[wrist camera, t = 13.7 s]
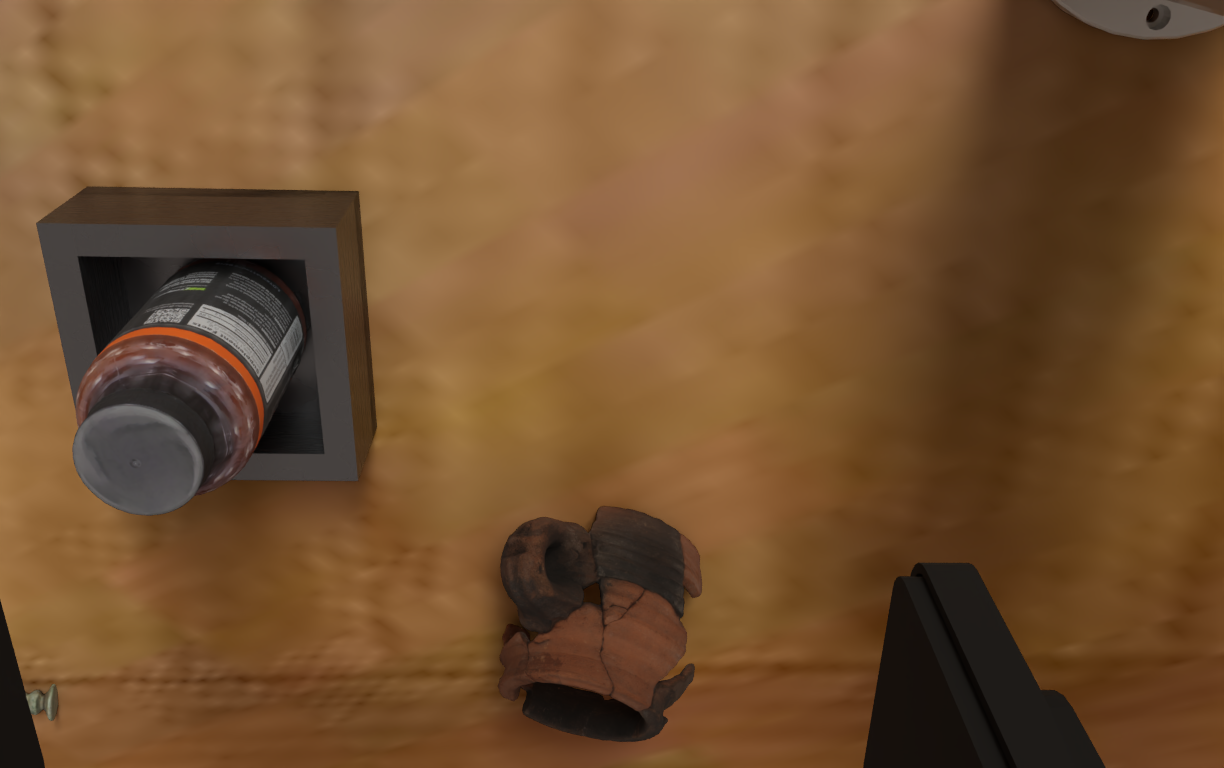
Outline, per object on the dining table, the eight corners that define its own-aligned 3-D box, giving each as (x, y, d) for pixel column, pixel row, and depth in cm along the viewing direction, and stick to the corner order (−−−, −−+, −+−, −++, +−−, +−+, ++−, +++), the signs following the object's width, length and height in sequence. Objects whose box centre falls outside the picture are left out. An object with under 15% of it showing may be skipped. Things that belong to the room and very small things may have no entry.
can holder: (87, 186, 43) (36, 223, 39) (358, 191, 43) (336, 227, 39) (131, 424, 48) (90, 478, 44) (376, 426, 48) (358, 480, 44)
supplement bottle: (229, 412, 46) (130, 575, 36) (128, 301, 44) (-9, 441, 34) (342, 340, 45) (272, 487, 35) (243, 221, 43) (137, 342, 33)
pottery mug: (750, 580, 53) (723, 751, 48) (593, 598, 58) (554, 753, 53) (607, 440, 46) (559, 624, 41) (443, 475, 51) (383, 641, 46)
